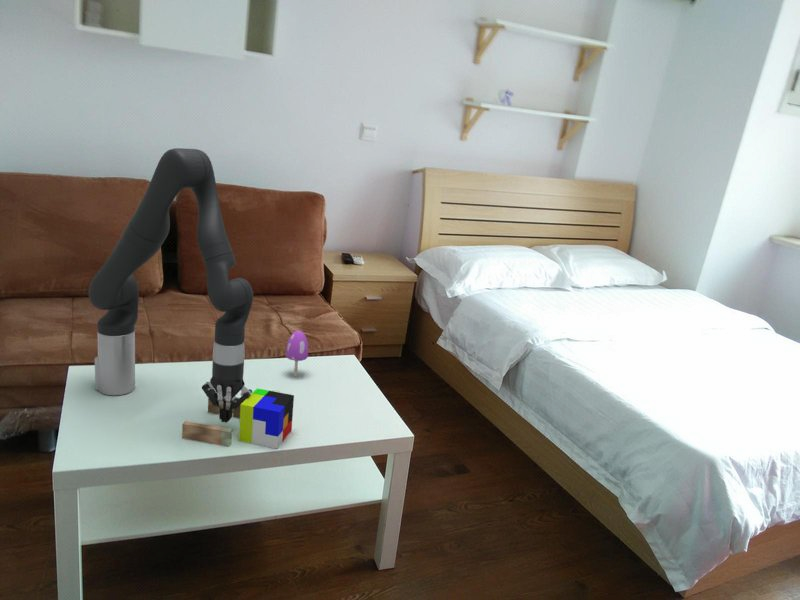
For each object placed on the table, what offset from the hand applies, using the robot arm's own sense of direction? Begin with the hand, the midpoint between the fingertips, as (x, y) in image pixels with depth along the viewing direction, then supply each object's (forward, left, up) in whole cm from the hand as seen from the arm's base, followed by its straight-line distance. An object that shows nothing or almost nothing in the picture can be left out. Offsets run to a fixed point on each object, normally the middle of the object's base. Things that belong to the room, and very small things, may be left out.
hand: (225, 420), depth 158 cm
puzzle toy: (+11, 0, -2) cm, 11 cm away
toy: (+7, +38, -2) cm, 39 cm away
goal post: (+10, +9, -2) cm, 14 cm away
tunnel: (-2, +3, -2) cm, 4 cm away
